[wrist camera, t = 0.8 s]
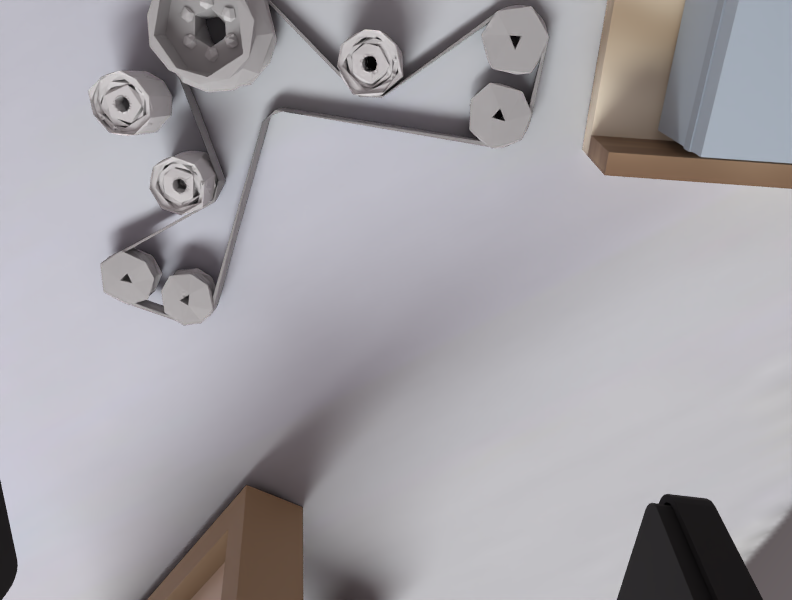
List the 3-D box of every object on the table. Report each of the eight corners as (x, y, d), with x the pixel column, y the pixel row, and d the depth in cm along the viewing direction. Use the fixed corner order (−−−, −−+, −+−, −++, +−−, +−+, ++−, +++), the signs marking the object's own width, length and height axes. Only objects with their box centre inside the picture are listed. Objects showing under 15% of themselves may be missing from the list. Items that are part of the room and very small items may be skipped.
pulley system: (1, 119, 37) (165, 338, 41) (-60, 128, 32) (130, 372, 36) (431, -195, 30) (577, 101, 34) (428, -237, 26) (596, 108, 30)
